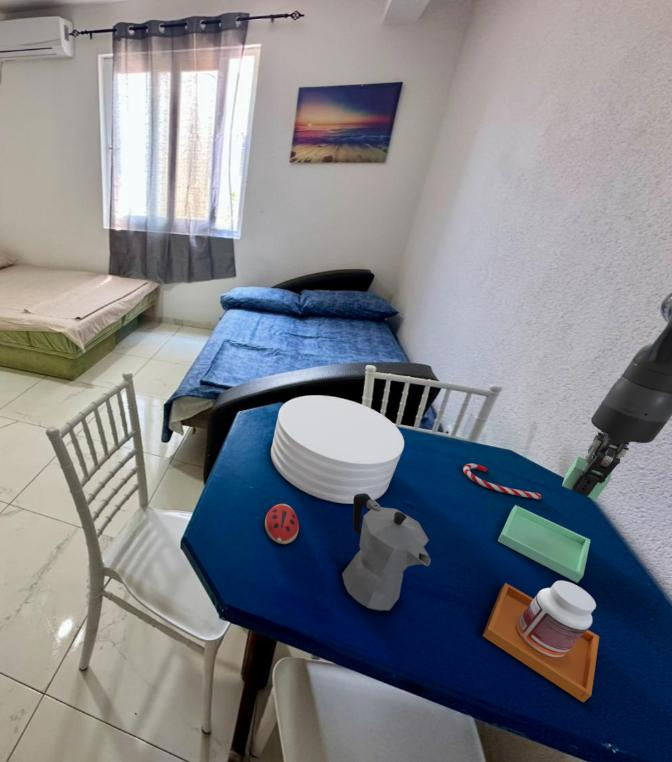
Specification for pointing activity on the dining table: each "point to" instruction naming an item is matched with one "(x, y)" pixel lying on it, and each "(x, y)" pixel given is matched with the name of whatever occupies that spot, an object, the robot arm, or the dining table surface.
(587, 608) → the pill bottle
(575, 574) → the mint tray
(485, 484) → the candy cane
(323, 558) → the dining table surface
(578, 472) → the mint block
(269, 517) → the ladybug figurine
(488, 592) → the dining table surface
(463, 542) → the dining table surface
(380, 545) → the coffeepot
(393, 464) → the plate stack
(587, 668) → the amber tray
